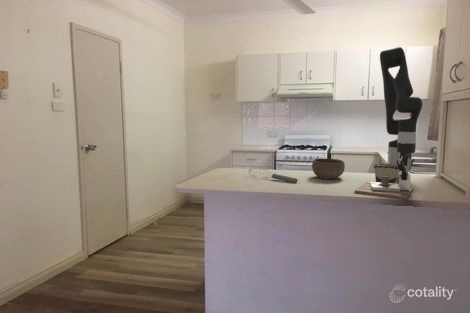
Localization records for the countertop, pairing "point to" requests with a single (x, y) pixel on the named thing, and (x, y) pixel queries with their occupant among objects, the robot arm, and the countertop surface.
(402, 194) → the post board
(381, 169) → the food container
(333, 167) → the bowl
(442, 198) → the countertop surface
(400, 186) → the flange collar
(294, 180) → the kitchen whisk
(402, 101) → the robot arm
